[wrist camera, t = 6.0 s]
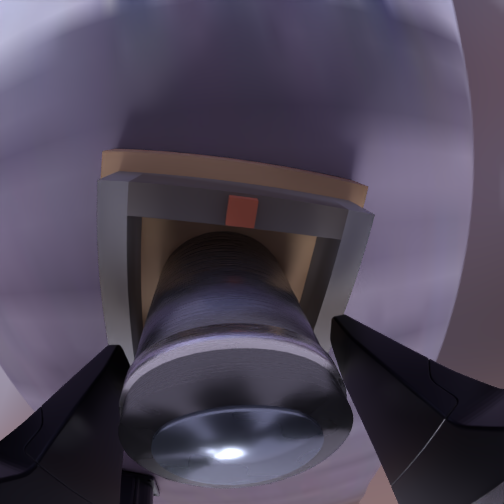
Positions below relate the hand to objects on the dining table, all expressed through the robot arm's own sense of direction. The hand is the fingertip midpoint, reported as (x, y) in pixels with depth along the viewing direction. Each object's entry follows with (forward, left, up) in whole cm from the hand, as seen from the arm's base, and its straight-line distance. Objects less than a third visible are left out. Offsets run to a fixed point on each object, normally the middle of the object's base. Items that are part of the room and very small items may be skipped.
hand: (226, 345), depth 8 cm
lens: (0, 0, -3) cm, 3 cm away
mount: (0, 0, -5) cm, 5 cm away
